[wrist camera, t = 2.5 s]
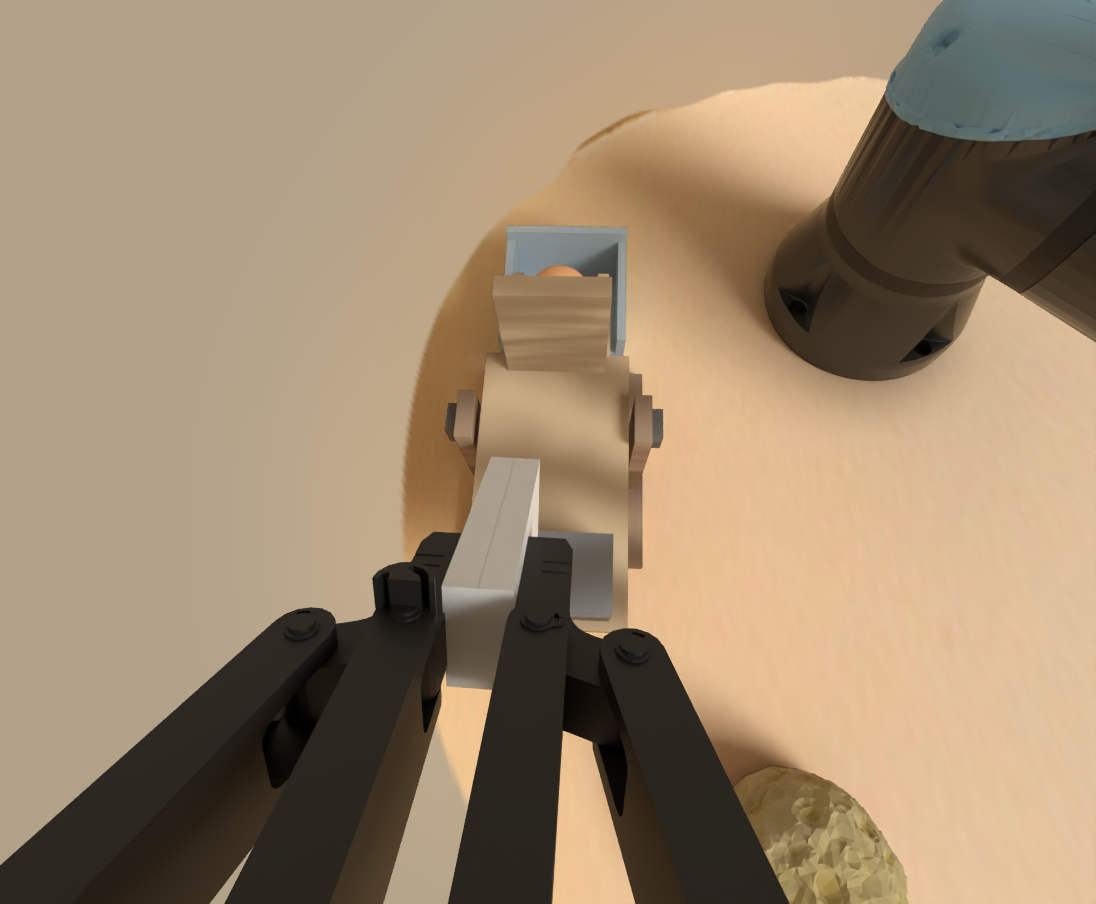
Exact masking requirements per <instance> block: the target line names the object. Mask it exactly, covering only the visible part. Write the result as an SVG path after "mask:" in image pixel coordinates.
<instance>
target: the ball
mask: <svg viewBox="0 0 1096 904" xmlns="http://www.w3.org/2000/svg"><path fill="white" fill-rule="evenodd" d="M535 276H582V275H581V274H580V273H579V272H578V271H576V270H575V269H573V268H571V267H568V266H564V265H554V266H550V267H547V268H545V269H543V270H541V271H540V272H538V273H537V274H536V275H535Z"/></svg>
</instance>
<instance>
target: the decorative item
mask: <svg viewBox="0 0 1096 904" xmlns="http://www.w3.org/2000/svg"><path fill="white" fill-rule="evenodd" d="M733 789H734V791H735V793H736V795H737V797H738V799H739V801H740V803H741V805H742V807H743V809H744V811H745V813H746V815H747V817H748V819H749V821H750V823H751V825H752V827H753V829H754V832H755V834H756V836H757V838H758V840H759V842H760V844H761V846H762V848H763V850H764V852H765V854H766V856H767V858H768V860H769V862H770V864H771V866H772V868H773V870H774V872H775V874H776V876H777V878H778V881H779V883H780V885H781V887H782V889H783V891H784V893H785V895H786V897H787V899H788V901H789V903H790V904H908V900H907V877H906V875H905V873H904V869H903V866H902V865H901V863H900V862H899V860H898V859H897V857H896V855H895V854H894V853H893V852H892V850H891V849H890V847H889V845H888V843H887V841H886V840H885V838H884V836H883V834H882V832H881V831H879V830H878V828H877V826H876V825H875V823H874V822H873V821H872V820H871V818H870V817H869V815H868V814H867V813H866V810H865V809H864V808H863V807H861V806H860V804H859V803H858V802H857V801H856V800H855V799H854V798H852V797H851V795H849V794H848V793H847V792H845V791H844V790H843V789H841V788H839V787H838V786H837V785H836V784H835V783H833V782H832V781H829V780H825V779H823V778H821V777H819V776H817V775H815V774H812V773H808V772H805V771H801V770H798V769H796V768H794V769H788V768H782V767H778V766H770V767H766V768H764V769H762V770H761V771H757V772H753V773H752V774H750V775H746V776H745V777H744V778H742V779H741V780H740V781H739V782H738V783H737V784H736V785H735V786H734V788H733Z"/></svg>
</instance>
